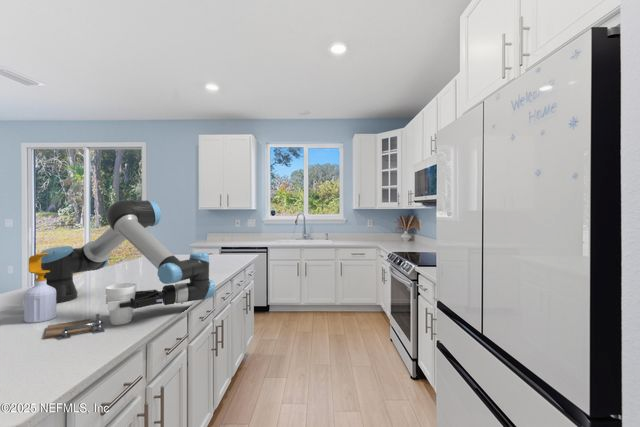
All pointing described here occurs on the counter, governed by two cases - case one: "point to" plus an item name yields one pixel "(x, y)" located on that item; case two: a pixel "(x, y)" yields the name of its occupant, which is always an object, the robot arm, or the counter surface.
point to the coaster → (58, 328)
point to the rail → (95, 323)
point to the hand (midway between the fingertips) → (107, 303)
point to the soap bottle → (39, 295)
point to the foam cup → (120, 294)
